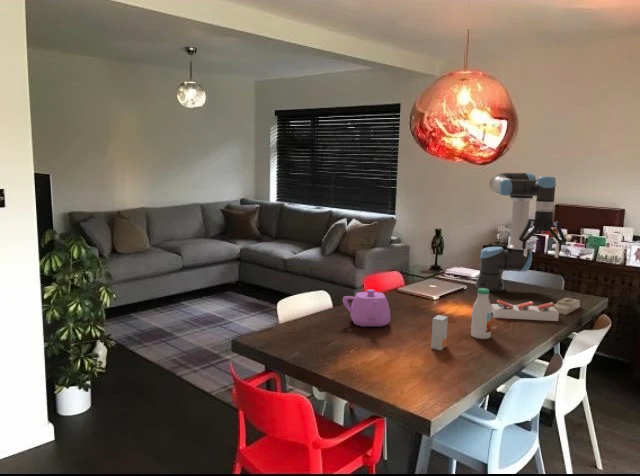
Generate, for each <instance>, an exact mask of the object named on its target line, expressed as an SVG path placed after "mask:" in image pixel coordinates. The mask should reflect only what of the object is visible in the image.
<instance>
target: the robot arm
mask: <svg viewBox="0 0 640 476" xmlns="http://www.w3.org/2000/svg"><path fill="white" fill-rule="evenodd" d="M556 185H557V184H556V177H555V176H545V175H544V176H543V175H542V176H538V177H536V175H535V174H534V173H531V172H530V173H529V172H501V173H497V174H496V175H494V176H492V177H491V179H490V181H489V187H490V189H491V190H492V191H493V192H494V193H497V194H499V195H501V196H506V197H507V196H509V197H510V200H512V207H511V208H512V209H511V220H510V221H511V225H510V236H509V237H510V238H509V239H510V241H509V244H508V245H507V246H506V249H504V248H503V247H502V246H489V247H484V248H482V249H481V251H480V256H479V258H480V262H479V275H478V277H477V279H476V283H475V288H476V289H477V290H478V289H479V288H486V289H489V292H502V291H504V290H505V285H504V281H503V277H502V272H506V271H507V272H527V271H529V269H530V267H531V265H532V262H533V251H531V250H530V247H529V245H528V244H529V242H528V241H529V239H531V238H532V237H533V236H534V235H535V233H536V232H538V231H539V232H549V233H550V235H552V236H553V238H554V239H555V240H556V242H555V247H554V249H555V250H554V258H556V259H558V258H559V252H560V251H561V250H562V244H564V243H566V242H567V239H566V237H565V235H564V232H563V230H562V228H561V222H560V221H553V218H554V212H553V211H554V206H555V205H554V204H555V194H556ZM534 197H535V198H536V200H535V213H534V214H535V215H534V220H533V221H531V220H529V213H530V201H532V200H533V199H534ZM533 225H534V227H533V228H532V229H531V230H530V228H531V227H532V226H533ZM553 226H554V227H555V229H556V230H557V233H558V235H559V236H558V235H557V233H555V231H554V230H553V229H552V228H553ZM529 230H530V232H529ZM559 237H560V238H559Z"/></svg>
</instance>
